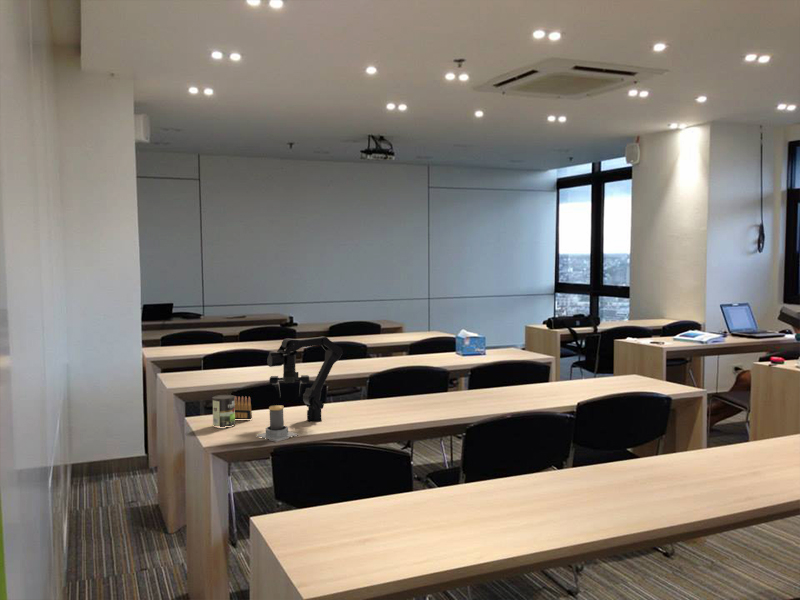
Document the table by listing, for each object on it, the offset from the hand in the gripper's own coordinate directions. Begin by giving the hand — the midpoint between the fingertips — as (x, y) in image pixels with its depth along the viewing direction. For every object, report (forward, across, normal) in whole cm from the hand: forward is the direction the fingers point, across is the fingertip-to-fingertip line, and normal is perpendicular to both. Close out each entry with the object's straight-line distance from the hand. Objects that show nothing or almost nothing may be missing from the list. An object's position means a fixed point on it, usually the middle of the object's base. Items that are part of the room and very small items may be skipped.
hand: (289, 397), depth 319 cm
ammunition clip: (+13, -24, +12) cm, 30 cm away
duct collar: (+13, -6, -22) cm, 26 cm away
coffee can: (+13, -31, +1) cm, 34 cm away
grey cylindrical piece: (+12, -5, -22) cm, 26 cm away
